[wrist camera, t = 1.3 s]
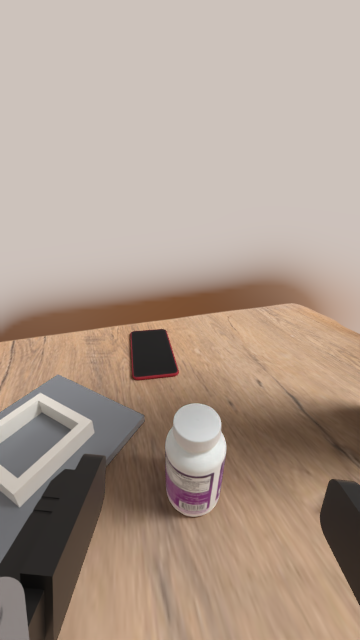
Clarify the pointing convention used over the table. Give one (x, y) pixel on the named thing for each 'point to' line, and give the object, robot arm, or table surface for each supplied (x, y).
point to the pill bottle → (194, 459)
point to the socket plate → (53, 443)
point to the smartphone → (152, 355)
